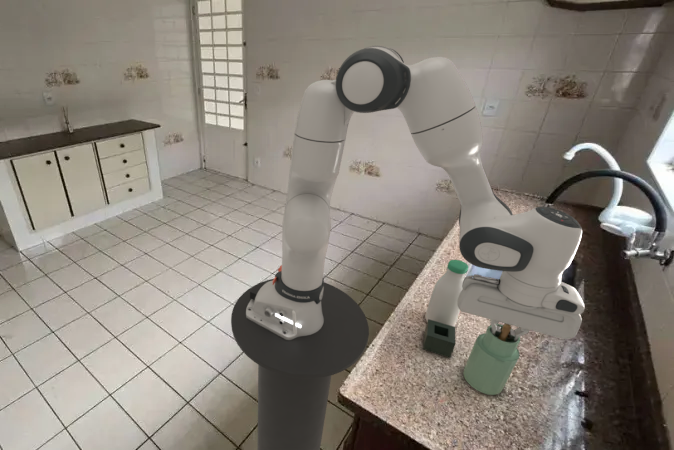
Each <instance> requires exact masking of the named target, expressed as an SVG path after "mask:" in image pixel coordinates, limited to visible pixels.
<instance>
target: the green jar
mask: <svg viewBox="0 0 674 450" xmlns="http://www.w3.org/2000/svg"><path fill="white" fill-rule="evenodd" d="M496 325H497V326H500V327H501V329H500V330H502V327H503V325H504V324H500V323H498V324H496ZM491 327H492V326H491V324H490V325H488V327H487V329H486V331H485V332H484V333H481V334H479V335H478V336H477V337H476V340H475V342H474V344H473V347H472V349H471V351H470V354H469V356H468V358H467V361H466V363H465V366H464V368H463V378H464V380H465V381H466V382H467V384H468V385H470V387H471V388H473V389H475V390H476V391H477V392H480V393H482V394H485V395H489V396H495V395H499V394H501V392H502V391H503V389H504V388H505V386H506V385H507V382H508V380H509V378H510V377H511V374H512V372H513V370H514V368H515V366H516V365H517V363H518V361H519V359H520V357H521V354H520V350H519V348H518V347H519V345H520V343H521V337H519V338H518V340H517V341H516V342H514V341H511V340H508V339H507V338H508V337H507V338H506V340H505V341H502V340H500V339H498V337H497V336H494V335H493V334H492V333H491V331H490V330H491ZM511 330H514V329H512V328H511Z"/></svg>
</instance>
